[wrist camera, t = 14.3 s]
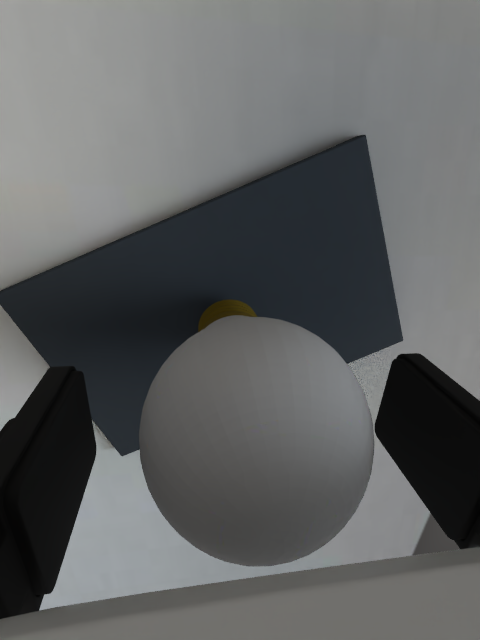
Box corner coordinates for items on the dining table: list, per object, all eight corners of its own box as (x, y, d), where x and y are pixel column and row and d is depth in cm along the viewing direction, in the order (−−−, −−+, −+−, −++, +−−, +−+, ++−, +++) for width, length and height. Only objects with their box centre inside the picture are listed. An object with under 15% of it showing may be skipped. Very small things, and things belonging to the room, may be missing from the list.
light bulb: (282, 244, 14) (452, 377, 5) (294, 360, 17) (420, 587, 8) (144, 270, 14) (62, 465, 5) (177, 385, 16) (165, 655, 7)
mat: (358, 135, 13) (366, 134, 13) (397, 335, 18) (403, 340, 17) (-1, 290, 14) (-8, 295, 13) (123, 448, 18) (121, 457, 18)
